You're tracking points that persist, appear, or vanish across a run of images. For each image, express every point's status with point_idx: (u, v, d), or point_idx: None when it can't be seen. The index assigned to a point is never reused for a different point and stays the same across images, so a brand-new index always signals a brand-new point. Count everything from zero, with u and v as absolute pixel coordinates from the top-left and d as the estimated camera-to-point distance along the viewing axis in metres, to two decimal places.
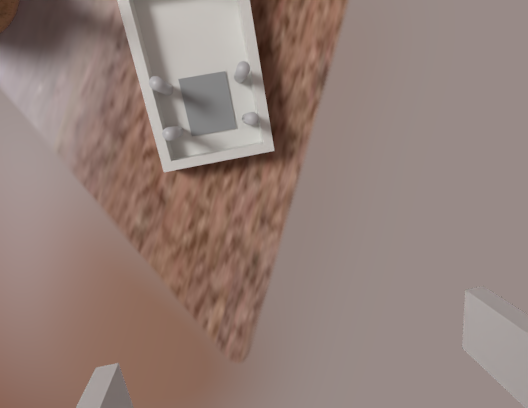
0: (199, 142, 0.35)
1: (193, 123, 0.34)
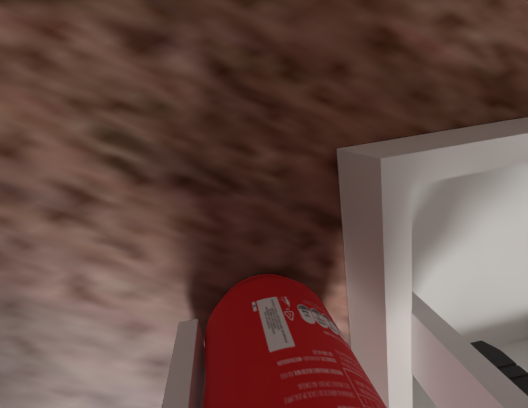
0: None
1: None
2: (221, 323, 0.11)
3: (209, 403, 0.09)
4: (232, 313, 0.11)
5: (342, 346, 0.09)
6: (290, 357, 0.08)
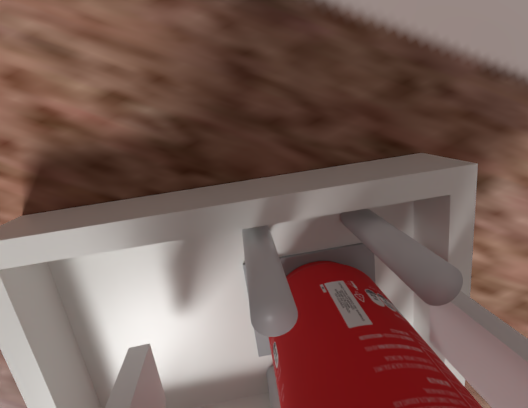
0: None
1: None
2: None
3: (289, 372, 0.09)
4: (300, 293, 0.11)
5: (413, 329, 0.10)
6: (370, 333, 0.09)
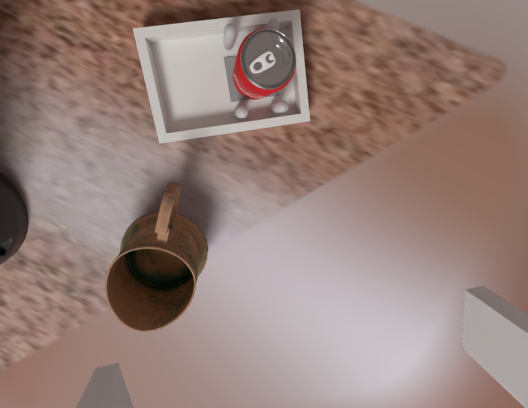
0: (284, 89, 0.38)
1: None
2: None
3: None
4: None
5: None
6: None
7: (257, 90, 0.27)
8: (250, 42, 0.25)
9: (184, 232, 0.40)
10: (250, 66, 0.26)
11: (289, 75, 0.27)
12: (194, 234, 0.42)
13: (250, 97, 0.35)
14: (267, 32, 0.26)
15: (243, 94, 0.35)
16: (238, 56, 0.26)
